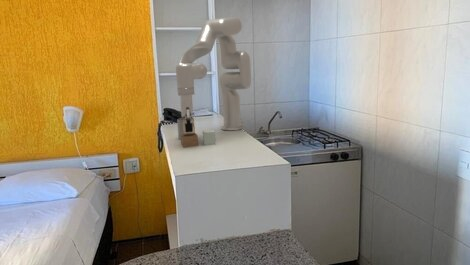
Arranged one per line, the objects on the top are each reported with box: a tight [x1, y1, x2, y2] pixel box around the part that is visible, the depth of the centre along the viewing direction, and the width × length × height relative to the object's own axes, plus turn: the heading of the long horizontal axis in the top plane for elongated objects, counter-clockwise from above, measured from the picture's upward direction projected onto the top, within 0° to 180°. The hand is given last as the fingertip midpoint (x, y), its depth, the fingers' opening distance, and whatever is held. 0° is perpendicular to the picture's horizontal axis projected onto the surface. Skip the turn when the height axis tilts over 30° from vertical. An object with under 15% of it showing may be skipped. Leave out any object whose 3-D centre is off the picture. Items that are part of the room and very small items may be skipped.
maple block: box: [183, 117, 196, 133], centre depth 172 cm, size 5×5×6 cm
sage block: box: [202, 129, 216, 146], centre depth 174 cm, size 5×5×6 cm
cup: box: [177, 117, 196, 141], centre depth 189 cm, size 8×8×10 cm
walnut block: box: [180, 132, 199, 148], centre depth 174 cm, size 7×7×5 cm
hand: (188, 130), depth 173 cm, fingers closed on maple block, 5 cm apart
